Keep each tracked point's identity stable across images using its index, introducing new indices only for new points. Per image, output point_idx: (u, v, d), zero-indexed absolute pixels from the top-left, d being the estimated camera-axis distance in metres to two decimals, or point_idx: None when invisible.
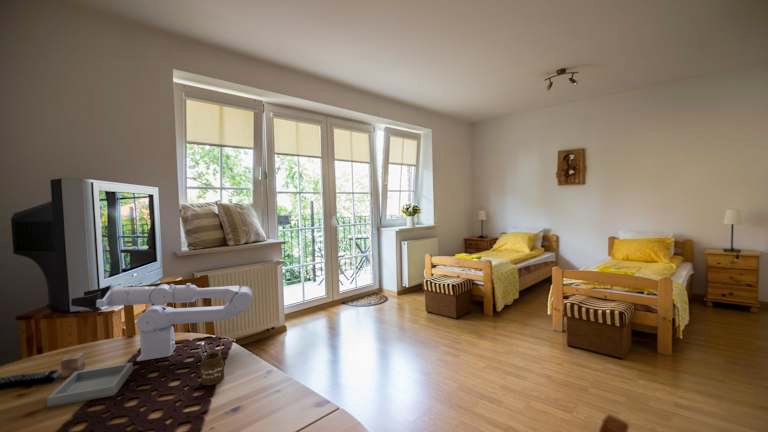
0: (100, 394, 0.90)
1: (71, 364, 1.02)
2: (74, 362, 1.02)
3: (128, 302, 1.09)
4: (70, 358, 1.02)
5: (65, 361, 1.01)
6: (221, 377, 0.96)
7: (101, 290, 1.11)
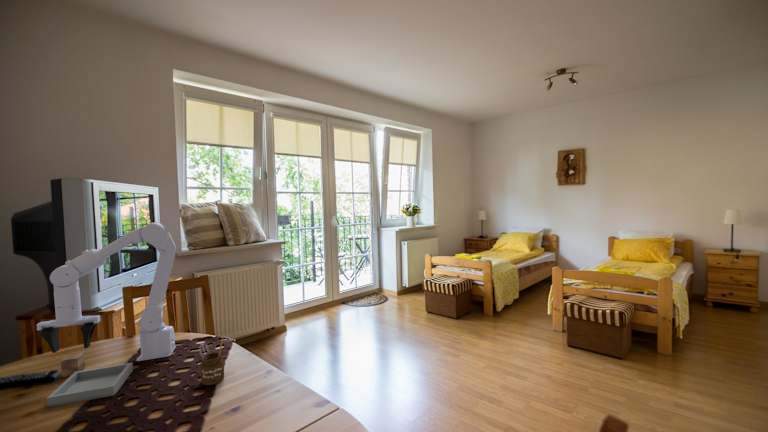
0: (100, 394, 0.90)
1: (71, 364, 1.02)
2: (74, 362, 1.02)
3: (72, 305, 1.01)
4: (70, 358, 1.02)
5: (65, 361, 1.01)
6: (221, 377, 0.96)
7: (52, 338, 1.01)
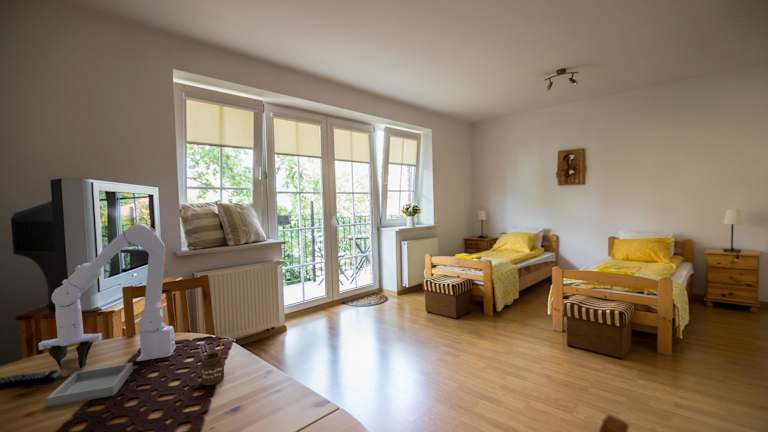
0: (100, 394, 0.90)
1: (71, 364, 1.02)
2: (74, 362, 1.02)
3: (74, 324, 1.02)
4: (70, 357, 1.02)
5: (65, 361, 1.01)
6: (221, 377, 0.96)
7: (61, 356, 1.01)
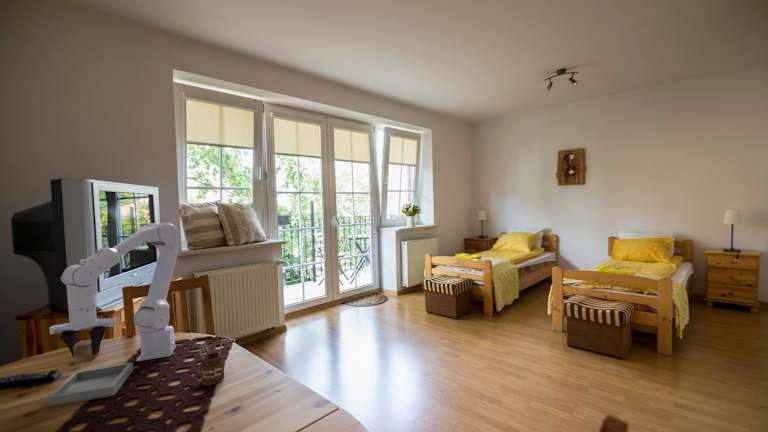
0: (100, 394, 0.90)
1: (84, 351, 0.95)
2: (87, 348, 0.95)
3: (93, 305, 0.96)
4: (82, 343, 0.95)
5: (77, 347, 0.94)
6: (221, 377, 0.96)
7: (73, 341, 0.94)
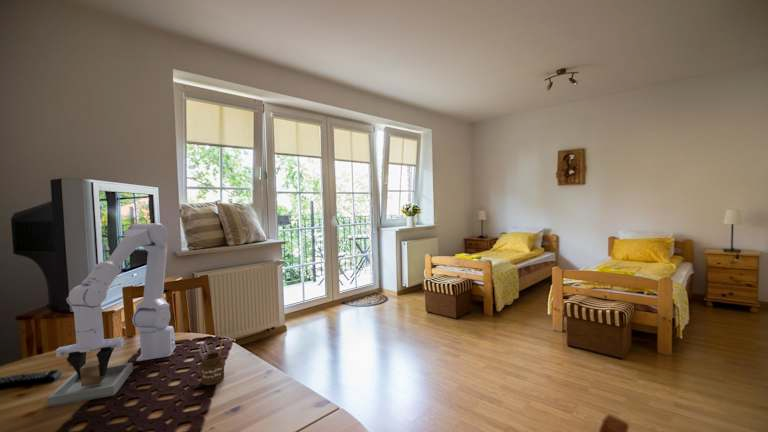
0: (100, 394, 0.90)
1: (92, 373, 0.93)
2: (95, 370, 0.93)
3: (101, 325, 0.95)
4: (89, 365, 0.94)
5: (84, 369, 0.92)
6: (221, 377, 0.96)
7: (80, 363, 0.92)
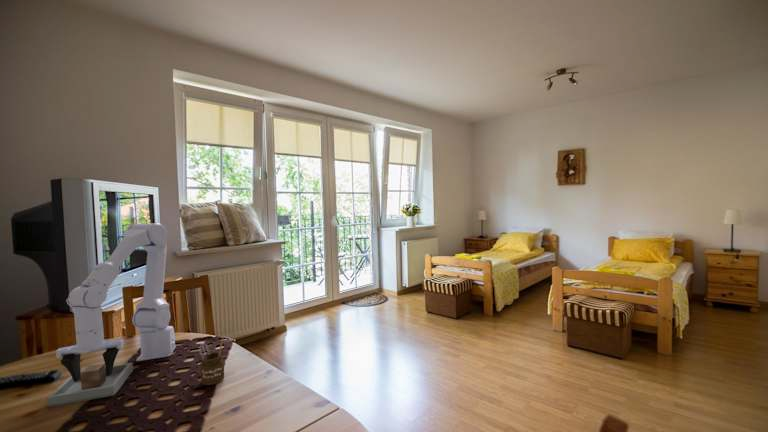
0: (100, 394, 0.90)
1: (92, 377, 0.93)
2: (95, 374, 0.93)
3: (101, 326, 0.95)
4: (90, 369, 0.94)
5: (84, 373, 0.92)
6: (221, 377, 0.96)
7: (74, 365, 0.92)
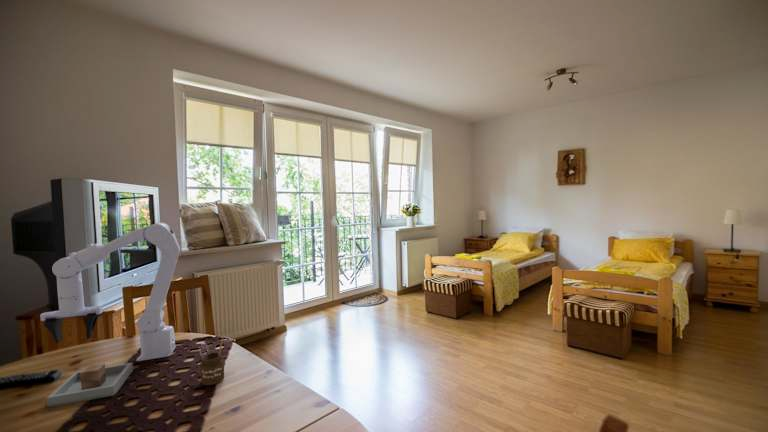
0: (100, 394, 0.90)
1: (92, 377, 0.93)
2: (95, 374, 0.93)
3: (74, 296, 1.03)
4: (90, 369, 0.94)
5: (84, 373, 0.92)
6: (221, 377, 0.96)
7: (55, 328, 1.02)
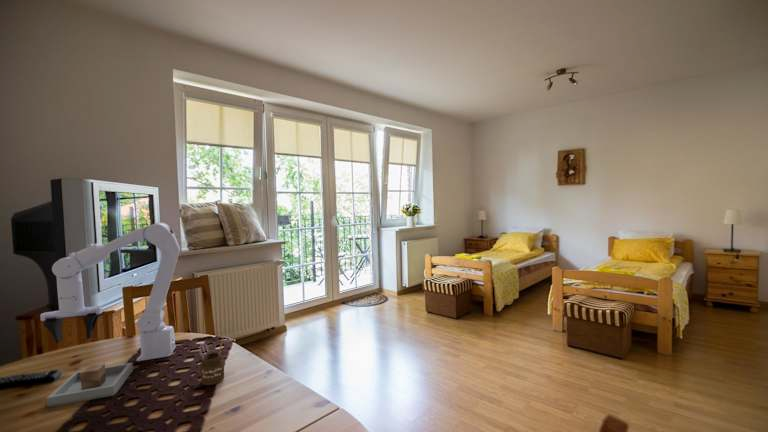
0: (100, 394, 0.90)
1: (92, 377, 0.93)
2: (95, 374, 0.93)
3: (74, 296, 1.03)
4: (90, 369, 0.94)
5: (84, 373, 0.92)
6: (221, 377, 0.96)
7: (56, 328, 1.02)
